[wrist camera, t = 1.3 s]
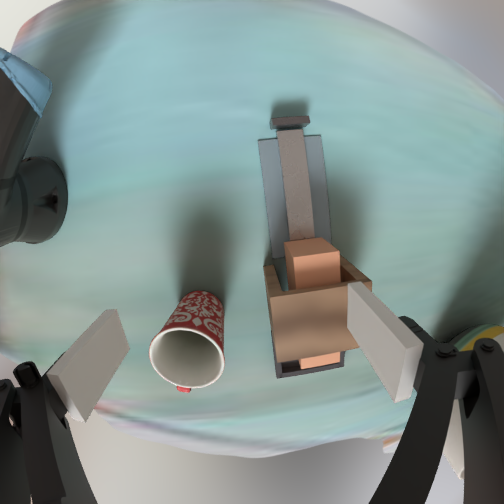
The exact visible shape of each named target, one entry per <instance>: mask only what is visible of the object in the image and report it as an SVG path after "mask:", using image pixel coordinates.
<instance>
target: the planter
mask: <svg viewBox="0 0 504 504" xmlns="http://www.w3.org/2000/svg"><path fill="white" fill-rule="evenodd" d="M480 338H492V339H494V340H495V341H497V342H498V343H499V344H500V346H501V348H502V350H503V352H504V327H502V326H499V325H494V324H481V325H477V326H474V327H471V328H469V329H467V330H465V331H463V332H462V333H460V334H459V335H457V336H456V337H455V338H453V339H452V340H451V341H450V342H449V343H448V344H451V345H453V346H455V347H456V348H457V349H458V350H459V351H467V350H473V346H474V343H475V341H476V340H478V339H480ZM443 454H444V455H445V457H446V458H447V460H448V462H449V463H450V465H451V467H452V469H453V470H454V471H455V473H456V475H457V476H458V478H459V479H461V480H462V479H464V450H463V436H462V425H461V417H460V409H459V402H458V399H456V400H454V403H453V409H452V414H451V419H450V424H449V429H448V433H447V437H446V441H445V445H444V449H443Z"/></svg>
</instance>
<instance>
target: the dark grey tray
mask: <svg viewBox="0 0 504 504" xmlns="http://www.w3.org/2000/svg"><path fill="white" fill-rule="evenodd" d="M271 335H272V330H271ZM272 343H273V352H274V360H275V369H276V376H277V378H284V377H290V376H297V375H303V374H308V373H314V372H319V371H325V370H330V369H334V368H339V367H344V354H345V351H341V352H340V362H337V363H332V364H327V365H322V366H317V367H311V368H305V369H301V366H300V363H299V359H298V360H292V361H286V362H279V363H277V358H276V352H275V347H274V341H273V335H272Z"/></svg>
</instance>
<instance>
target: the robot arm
mask: <svg viewBox="0 0 504 504" xmlns="http://www.w3.org/2000/svg"><path fill="white" fill-rule="evenodd" d="M51 93H52V82H51V80H50V79H49V78H48V77H47V76H46V75H44V74H43V73H42V72H40V71H39V70H37V69H36V68H35V67H33V66H31V65H30V64H28V63H27V62H25V61H24V60H22V59H20V58H19V57H17V56H15V55H12V54H11V53H9V52H7V51H6V50H4V49H2V48H0V247H1V246H4V245H6V244H9V243H11V242H14V241H15V242H26V243H30V244H37V243H41V242H44V241H46V240H49V239H50V238H52V237H53V236H54V235H55V234H56V233H57V232H58V231H59V229H60V227H61V225H62V223H63V221H64V218H65V214H66V209H67V188H66V183H65V179H64V176H63V174H62V172H61V170H60V168H59V167H58V166H57V164H56V163H55V162H54V161H52V160H51V159H49V158H46V157H29V158H26V159H24V160H22V159H23V157H24V154H25V152H26V149H27V147H28V144H29V142H30V139H31V137H32V135H33V133H34V130H35V128H36V126H37V124H38V122H39V120H40V118H42V115H43V114H42V113H43V110H44V108H45V106H46V104H47V101H48V99H49V97H50V95H51ZM347 328H348V329H349V331H350V332H351V334H352V336H353V337H354V339H355V340H356V342H357V343H358V345H359V346H360V348H361V350H362V351H363V353H364V354H365V356H366V358H367V359H368V361H369V362H370V364H371V366H372V367H373V369H374V370H375V372H376V374H377V375H378V377H379V379H380V380H381V382H382V383H383V385H384V387H385V388H386V390H387V392H388V393H389V395H390V397H391V398H392V400H393V402H394V403H396V402H399V401H402V400H405V399H408V398H410V397H411V393H412V390H413V387H414V389H415V390H416V391H417V396H416V399H415V402H414V405H413V408H412V411H411V414H410V417H409V419H408V422H407V425H406V427H405V430H404V432H403V435H402V437H401V440H400V442H399V444H398V447H397V449H396V451H395V454H394V456H393V458H392V460H391V462H390V464H389V466H388V469H387V471H386V472H385V474H384V477H383V478H382V480H381V482H380V484H379V486H378V488H377V490H376V491H375V493H374V495H373V497H372V499H371V500H370V502H369V504H425V502H426V499H427V497H428V494H429V491H430V489H431V486H432V483H433V481H434V478H435V474H436V472H437V469H438V466H439V462H440V459H441V456H442V452H443V449H444V445H445V441H446V437H447V433H448V429H449V424H450V419H451V414H452V409H453V403H454V400H456V399H458V402H459V409H460V417H461V425H462V436H463V450H464V502H463V503H464V504H504V352H503V350H502V348H501V346H500V344H499V343H498V342H497V341H495V340H494V339H492V338H480V339H478V340H476V341H475V343H474V346H473V350H467V351H459V350H458V349H457V348H456V347H455V346H453V345H451V344H447V343H437V342H436V341H435V340H434V339H433V338H432V337H431V336H430V335H429V334H428V333H427V332H426V331H425V330H423V329H422V328H421V327H420V326H419V325H418V324H417V323H416V322H415V321H414V320H413V319H410V318H408V317H406V316H401V317H397V316H396V315H395V314H394V313H393V312H392V311H391V310H390V309H389V308H388V307H387V306H386V305H385V304H384V303H383V302H382V301H381V300H380V299H378V298H377V297H376V296H375V295H374V294H373V293H372V292H371V291H370V290H369V289H368V288H367V287H366V286H365V285H364V284H363V283H362V282H361V281H360V282H354V283H348V315H347ZM129 350H130V347H129V345H128V342H127V339H126V336H125V333H124V330H123V327H122V324H121V321H120V318H119V315H118V312H117V309H109V310H105V311H104V312H103V313H102V314H101V315H100V316H99V317H98V318H97V319H96V321H95V322H94V323H93V324H92V325H91V326H90V327H89V328H88V329H87V330H86V331H85V332H84V333H83V334H82V335H81V336H80V337H79V338H78V339H77V340H76V341H75V342H74V344H73V345H72V346H71V347H70V348H69V349H68V350H67V351H66V352H64V353H63V354H62V355H61V356H60V357H59V358H58V360H56V362H55V363H54V365H52V366H51V367H50V368H49V369H48V370H47V372H46V373H45V374H44V375H43V376H42V377H41V375H40V373H39V371H38V369H37V367H36V365H35V363H34V362H30V361H28V362H24V363H22V364H20V365H18V366H17V367H16V368H15V369H14V371H13V374H14V376H15V378H16V379H17V381H18V383H19V385H20V386H21V387H16V388H15V387H14V385H13V383H12V382H11V380H9V379H3V380H0V504H31V498H30V497H32V502H33V504H98V503H97V501H96V499H95V497H94V494H93V492H92V490H91V487H90V485H89V483H88V480H87V478H86V475H85V473H84V470H83V467H82V465H81V462H80V459H79V456H78V453H77V450H76V447H75V444H74V441H73V438H72V434H71V431H70V427H69V423H68V421H67V419H66V417H65V414H66V413H67V411H68V412H69V414H70V416H71V417H72V419H73V420H76V421H80V422H86V421H87V419H88V417H89V416H90V414H91V412H92V410H93V409H94V407H95V405H96V404H97V402H98V400H99V398H100V397H101V395H102V393H103V392H104V390H105V388H106V387H107V385H108V383H109V382H110V380H111V379H112V377H113V375H114V374H115V372H116V370H117V369H118V367H119V365H120V364H121V362H122V361H123V359H124V357H125V356H126V354H127V353H128V351H129ZM9 417H10V418H11V420H12V421H13V426H12V425H11V423H10V421H9Z"/></svg>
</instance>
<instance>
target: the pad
mask: <svg viewBox="0 0 504 504" xmlns="http://www.w3.org/2000/svg"><path fill="white" fill-rule="evenodd" d="M304 143H305V150H306V158H307V166H308V174H309V183H310V192H311V201H312V211H313V222H314V234H315V238H320V237H322V238H323V239H325V240H326V241H327V242H328V243H330V244H331V245H332V243H331V228H330V215H329V203H328V193H327V183H326V174H325V165H324V157H323V150H322V142H321V136H308V137H304ZM258 146H259V153H260V160H261V168H262V176H263V183H264V191H265V199H266V207H267V215H268V223H269V232H270V240H271V249H272V257H273V259H274V258H282V257H285V248H284V242H289V231H288V222H287V213H286V204H285V195H284V187H283V179H282V171H281V163H280V156H279V148H278V141H277V139H271V140H262V141H258Z"/></svg>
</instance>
